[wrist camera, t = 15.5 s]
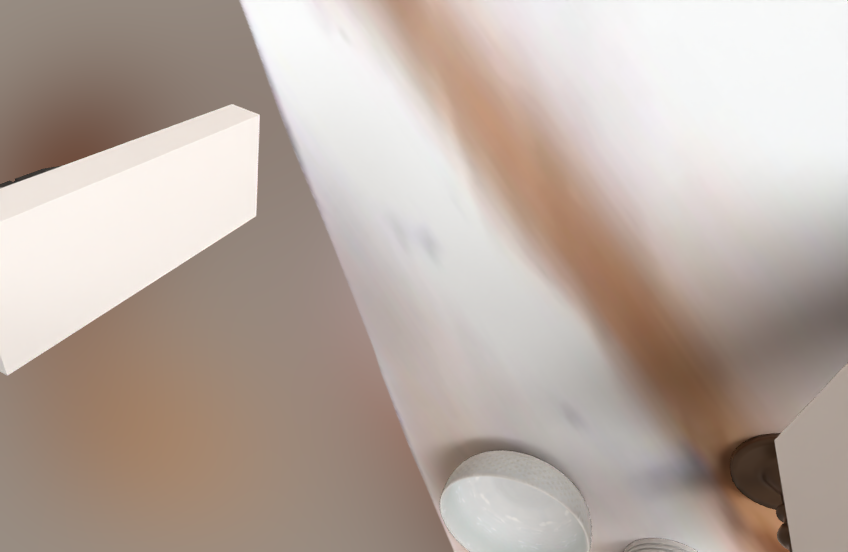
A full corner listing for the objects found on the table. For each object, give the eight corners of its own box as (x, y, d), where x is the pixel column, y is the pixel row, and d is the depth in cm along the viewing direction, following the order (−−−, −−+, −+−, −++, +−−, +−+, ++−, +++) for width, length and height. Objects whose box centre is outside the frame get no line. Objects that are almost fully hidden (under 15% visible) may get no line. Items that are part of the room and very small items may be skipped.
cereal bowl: (479, 521, 74) (462, 569, 68) (442, 425, 67) (419, 469, 62) (611, 537, 65) (603, 593, 60) (582, 430, 59) (570, 481, 54)
